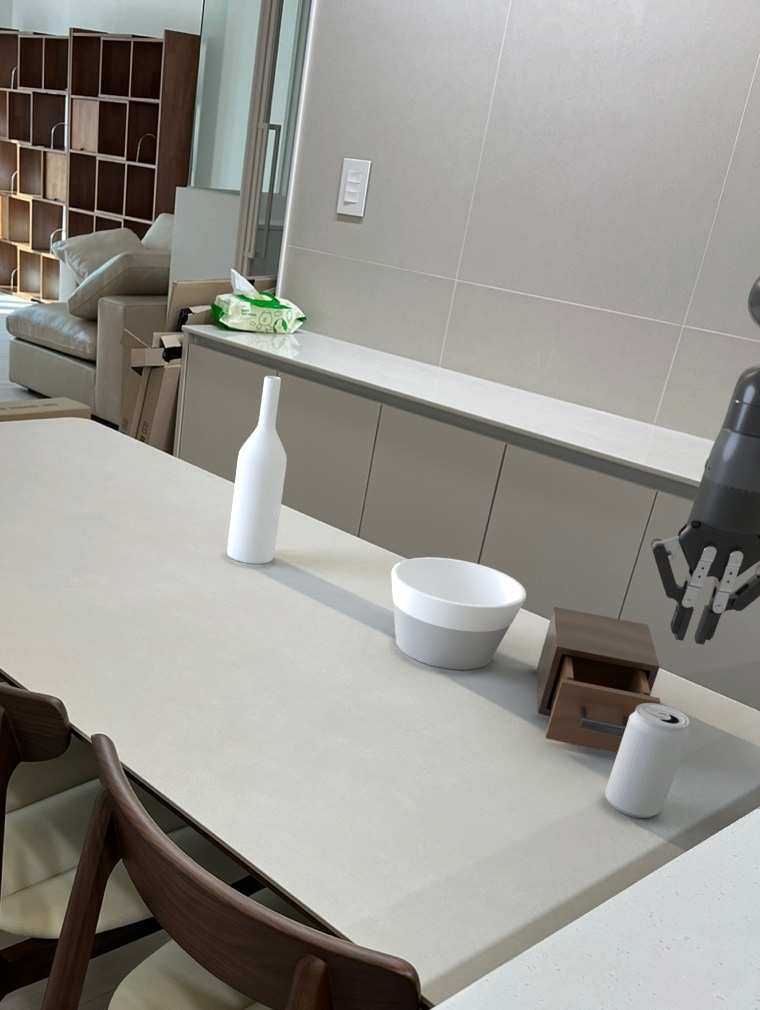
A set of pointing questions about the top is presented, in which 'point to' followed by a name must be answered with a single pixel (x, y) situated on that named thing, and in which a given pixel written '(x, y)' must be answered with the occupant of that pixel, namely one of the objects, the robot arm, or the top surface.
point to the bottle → (259, 486)
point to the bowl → (452, 611)
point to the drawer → (595, 702)
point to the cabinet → (593, 647)
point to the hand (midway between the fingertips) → (688, 639)
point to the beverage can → (647, 760)
